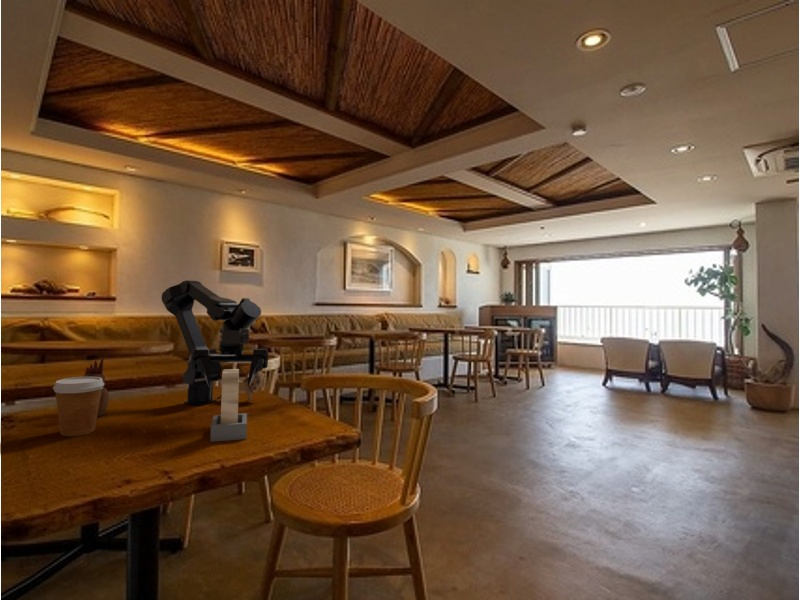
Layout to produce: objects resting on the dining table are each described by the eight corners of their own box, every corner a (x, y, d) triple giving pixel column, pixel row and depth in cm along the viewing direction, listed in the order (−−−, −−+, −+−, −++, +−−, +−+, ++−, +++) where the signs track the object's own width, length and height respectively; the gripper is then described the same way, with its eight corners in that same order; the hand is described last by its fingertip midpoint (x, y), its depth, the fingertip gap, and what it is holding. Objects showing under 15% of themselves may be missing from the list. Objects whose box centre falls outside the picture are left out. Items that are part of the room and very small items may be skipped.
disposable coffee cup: (62, 441, 92) (63, 385, 92) (44, 433, 97) (45, 380, 97) (110, 430, 100) (112, 379, 100) (92, 423, 105) (93, 374, 105)
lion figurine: (267, 399, 135) (268, 371, 135) (263, 403, 130) (264, 374, 130) (219, 399, 134) (220, 370, 134) (213, 403, 128) (214, 373, 128)
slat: (221, 428, 102) (223, 369, 102) (237, 427, 103) (239, 369, 103) (220, 434, 97) (222, 373, 97) (236, 433, 98) (238, 372, 98)
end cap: (213, 429, 103) (213, 415, 103) (246, 427, 106) (246, 413, 106) (210, 441, 95) (210, 425, 95) (246, 439, 97) (246, 423, 97)
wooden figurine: (113, 413, 114) (114, 357, 114) (95, 419, 108) (97, 360, 108) (89, 412, 115) (91, 356, 115) (71, 418, 109) (72, 359, 109)
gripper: (193, 318, 110) (186, 368, 99) (269, 319, 116) (269, 366, 106) (195, 345, 117) (189, 394, 107) (267, 344, 123) (267, 391, 113)
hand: (229, 386), depth 108 cm, fingers open, 9 cm apart
